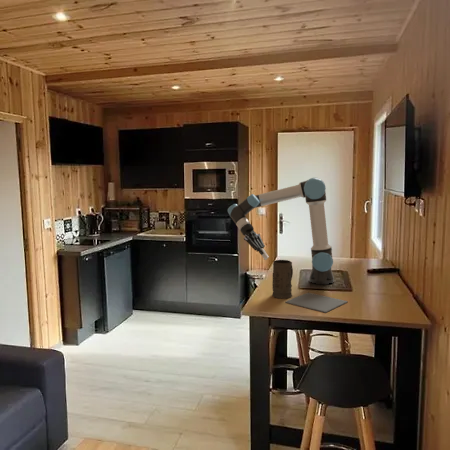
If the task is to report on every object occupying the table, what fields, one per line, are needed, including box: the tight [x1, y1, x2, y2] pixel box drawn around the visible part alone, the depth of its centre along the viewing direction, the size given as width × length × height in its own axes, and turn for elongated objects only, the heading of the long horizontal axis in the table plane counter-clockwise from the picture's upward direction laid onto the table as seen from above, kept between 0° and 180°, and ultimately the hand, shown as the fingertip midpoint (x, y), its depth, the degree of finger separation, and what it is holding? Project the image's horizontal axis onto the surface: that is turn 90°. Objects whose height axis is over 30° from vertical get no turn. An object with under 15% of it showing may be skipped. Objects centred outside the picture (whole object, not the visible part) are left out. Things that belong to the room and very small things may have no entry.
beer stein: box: [271, 259, 294, 300], centre depth 233 cm, size 15×11×20 cm
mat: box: [285, 291, 348, 314], centre depth 220 cm, size 24×22×1 cm
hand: (266, 258), depth 240 cm, fingers closed
